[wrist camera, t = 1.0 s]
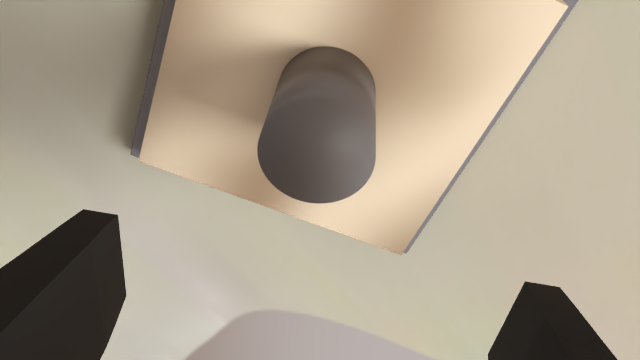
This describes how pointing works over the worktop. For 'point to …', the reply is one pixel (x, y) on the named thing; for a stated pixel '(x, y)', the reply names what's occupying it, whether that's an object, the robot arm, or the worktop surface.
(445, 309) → the worktop surface
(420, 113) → the lid
